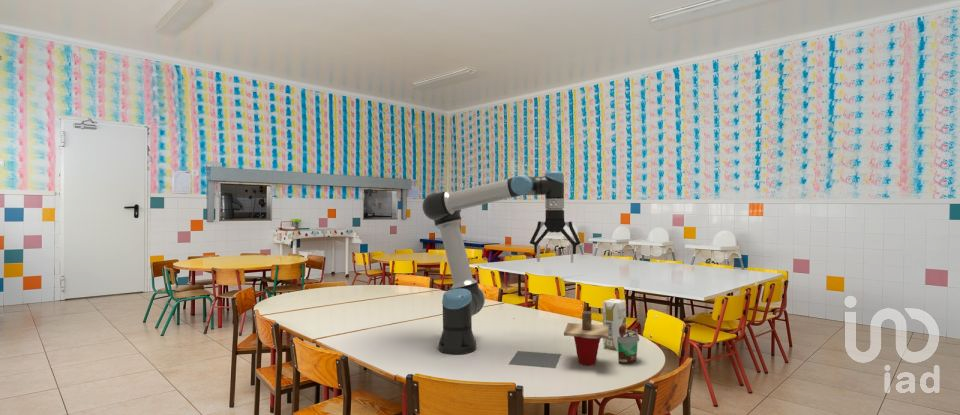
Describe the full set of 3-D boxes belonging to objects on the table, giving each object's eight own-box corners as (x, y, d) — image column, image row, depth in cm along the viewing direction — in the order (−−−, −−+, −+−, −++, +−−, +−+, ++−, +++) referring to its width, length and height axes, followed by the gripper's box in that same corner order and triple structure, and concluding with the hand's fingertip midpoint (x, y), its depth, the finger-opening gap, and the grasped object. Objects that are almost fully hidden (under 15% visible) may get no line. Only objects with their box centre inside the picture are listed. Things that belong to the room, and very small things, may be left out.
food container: (634, 367, 179) (634, 339, 179) (617, 364, 183) (617, 337, 183) (643, 358, 190) (643, 331, 190) (627, 355, 193) (626, 329, 193)
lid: (563, 335, 177) (563, 315, 177) (567, 325, 192) (567, 307, 192) (607, 338, 173) (607, 318, 173) (608, 328, 188) (608, 309, 188)
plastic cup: (598, 371, 175) (598, 336, 175) (568, 367, 180) (568, 333, 180) (606, 362, 185) (606, 329, 185) (577, 358, 190) (577, 326, 190)
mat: (508, 365, 182) (508, 364, 182) (517, 352, 198) (517, 350, 198) (555, 369, 177) (555, 368, 177) (561, 355, 194) (561, 354, 194)
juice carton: (600, 347, 204) (600, 300, 203) (611, 343, 210) (611, 297, 210) (618, 351, 198) (617, 303, 198) (628, 346, 205) (628, 300, 205)
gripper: (522, 209, 204) (523, 262, 204) (585, 209, 197) (585, 263, 197) (526, 209, 211) (526, 260, 212) (586, 209, 204) (587, 261, 205)
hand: (555, 262), depth 204 cm, fingers open, 13 cm apart
